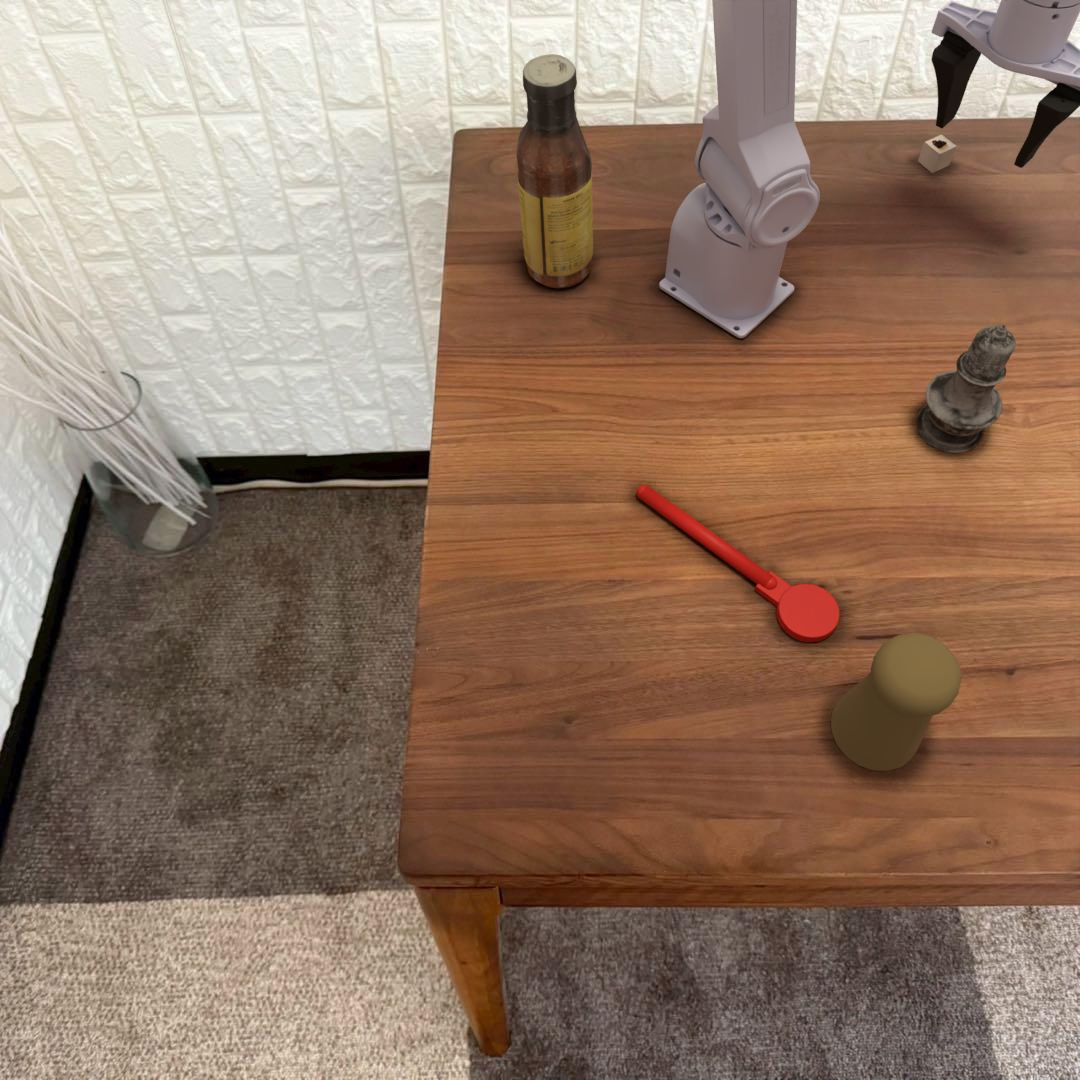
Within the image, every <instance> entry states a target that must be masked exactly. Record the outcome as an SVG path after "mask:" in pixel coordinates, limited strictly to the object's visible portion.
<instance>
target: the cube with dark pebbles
mask: <svg viewBox="0 0 1080 1080" xmlns="http://www.w3.org/2000/svg"><path fill="white" fill-rule="evenodd" d="M956 149H957V144H954V143H953V141H951V140H949V139H948V138H946V136H944V135H943V134H939V135H936V136H935V137H933V138H930V139H927V140H925V141H924V143H923V146H922V148H921V150H920V153H919V157H918V159H917V163H919V164H920V165H922V166H923V167H924V168H925V169H927V170H928V171H929V172H930V173H931V174H934V173H937V172H938V171H940V170H943V169H945V168H947V167H949V166H950V164H951V162H952V159H953V157H954V155H955V152H956Z"/></svg>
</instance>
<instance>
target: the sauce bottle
mask: <svg viewBox="0 0 1080 1080" xmlns="http://www.w3.org/2000/svg"><path fill="white" fill-rule="evenodd" d="M577 85H578V80H577V69H576V66H575V64H574V63H573V62H572V61H571V60H570V59H569V58H567V57H565V56H563V55H561V54H554V53H550V54H543V55H539V56H537V57H534V58H531V59H530V60H528V62H527V63H525V65H524V67H523V69H522V87H523V90H524V92H525V93H526V104H527V105H526V107H527V110H526V111H527V112H526V119H527V121H526V123H525V124H524V126H523V127H522V129H521V130H520V132H519V136H518V139H517V146H516V151H515V152H516V162H517V163H516V164H517V176H516V177H517V189H518V198H519V199H518V201H519V211H520V221H521V234H522V244H523V245H522V247H523V256H524V260H525V262H526V267H527V272H528V275H529V277H531V278H532V279H533V280H534V281H536V282H537V283H539V284H541V285H542V286H544V287H547V288H553V289H563V288H571V287H573V286H576V285H577V284H579V283H582V281H583V280H585V279H586V278H587V277H588V274H589V273H590V272H591V269H592V266H593V263H592V262H593V260H592V259H593V255H594V215H593V214H594V213H593V212H594V211H593V210H594V209H593V205H594V204H593V162H592V156H591V152H590V150H589V148H588V146H587V143H586V140H585V137H584V135H583V132H582V129H581V126H580V123H579V120H578V117H577V111H576V99H575V97H576V96H575V90H576V88H577Z"/></svg>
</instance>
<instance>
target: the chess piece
mask: <svg viewBox="0 0 1080 1080" xmlns="http://www.w3.org/2000/svg"><path fill="white" fill-rule="evenodd" d="M1016 343H1017V341H1016V339H1015V336H1014V335H1013V333H1012V332H1011V331H1010V330H1009V329H1008V328H1007V326H1006V324H1000V325H990V326H985V327H983V328H981V329H980V330H979V331H977V333H976V334H975V335H974V338H973V340H972V341H971V344H970V345H969V348H968V350H966V351H964V352H962V353H961V354H960V355H959V356H958V358H957V360H956V365H955V367H956V370H950V371H945V372H942V373H939V374H937V375H936V376H935V377H933V378H932V379H931V380H930V381H929V383H928V385H927V386H926V389H925V402H926V405H925V406H923V407H922V408H921V409H920V411H919V412H918V413H917V416H916V421H915V422H916V429H917V431H918V434H919V435H920V437H921V438H922V439H923V441H924V442H926V443H927V444H928V445H930V446H931V447H932V448H934V449H937V450H939V451H940V452H944V453H949V454H961V453H966V452H970V451H972V450H973V449H974V448H976V447H977V446H979V444H980V442H981V441H982V438H983V436H984V430H985V429H986V428H988V427H991V426H992V425H994V423H996V422H997V421H998V420H999V419H1000V417H1001V415H1002V413H1003V407H1004V404H1003V400H1002V396H1001V394H1000V392H999V391H998V389H997V388H996V387H995V386H997V385H999V384H1000V383H1001V382H1003V381H1004V379H1005V377H1006V376H1007V367H1006V365H1007V364H1008V361H1009V360H1010V358H1011V357H1012V354H1013V352H1014V351H1015V348H1016Z"/></svg>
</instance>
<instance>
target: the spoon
mask: <svg viewBox="0 0 1080 1080" xmlns="http://www.w3.org/2000/svg"><path fill="white" fill-rule="evenodd" d="M636 497H637V498H638V499H639V500H640V501H641V502H643V503H645V504H646V505H647V506H649V507H650V508H651V509H653V510H654V511H656V512H657V513H658V514H659V515H661V516H663V517H664V518H665V519H667V520H668V521H670V522H671V523H672V524H673V525H675V526H676V527H677V528H679V529H680V530H682V531H683V532H684V533H686V534H687V535H689V536H690V537H691V538H692V539H694V540H695V541H696V542H699V544H701V545H702V546H703V547H705V548H706V549H707V550H709V551H710V552H711V553H713V554H715V555H716V556H717V557H719V558H720V559H721V560H722V561H724V562H725V563H726V564H728V565H729V566H731V567H732V568H734V569H735V570H736V571H738V572H739V573H741V575H743V576H744V577H746V578H747V579H749V580H750V581H752V582H753V583H754V584H756V585H755V588H754V591H755V592H756V593H758V594H759V595H761V596H762V598H763V597H764V598H765V600H767V601H769V602H770V603H771V604H773V605H774V606H775V607H776V619H777V621H778V624H779V626H780V627H781V629H782V630H783V631H784V632H785V633H786V634H787V635H789V636H790V637H791V638H793V639H795V640H797V641H800V642H803V643H817V642H821V641H824V640H825V639H827V638H829V637H830V636H831V635H832V634H833V633H834V632H835V630H836V628H837V626H838V624H839V621H840V607H839V604H838V602H837V600H836V599H835V598H834V596H833V595H832V594H831V593H830V592H829V591H827V590H826V589H825V588H823V587H821V586H820V585H816V584H812V583H798V584H796V585H795V584H794V585H793V586H792V585H791V584H790V583H788V582H786V581H785V579H783V578H781V576H778V575H777V574H776V573H774V572H772V571H771V570H769V571H767V570H765V569H764V568H762V567H761V566H760V565H758V564H757V563H755V562H754V561H753V560H752V559H750V558H749V557H748V556H746V555H744V554H743V553H741V551H739V550H737V548H735V547H734V546H732V545H731V544H730V543H728V542H727V541H726V540H724V539H723V538H721V537H719V536H718V535H717V534H716V533H715V532H713V531H711V530H710V529H708V528H707V527H706V526H704V525H703V524H702V523H700V522H699V521H697V520H696V519H695V518H693V517H692V516H690V515H689V514H688V513H687V512H685V511H683V510H682V509H681V508H679V506H677V505H676V504H674V503H672V502H671V501H670V500H668V499H667V498H666V497H664V496H663V495H661V494H660V493H659V492H658V491H656V490H655V489H653V487H651V486H649V485H647V484H641V485H640V486H638V488H637V489H636Z"/></svg>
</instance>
